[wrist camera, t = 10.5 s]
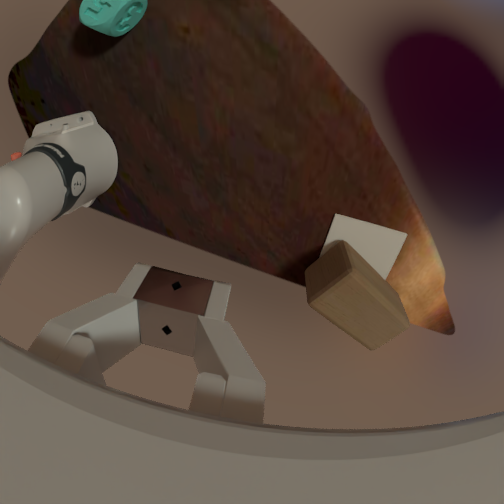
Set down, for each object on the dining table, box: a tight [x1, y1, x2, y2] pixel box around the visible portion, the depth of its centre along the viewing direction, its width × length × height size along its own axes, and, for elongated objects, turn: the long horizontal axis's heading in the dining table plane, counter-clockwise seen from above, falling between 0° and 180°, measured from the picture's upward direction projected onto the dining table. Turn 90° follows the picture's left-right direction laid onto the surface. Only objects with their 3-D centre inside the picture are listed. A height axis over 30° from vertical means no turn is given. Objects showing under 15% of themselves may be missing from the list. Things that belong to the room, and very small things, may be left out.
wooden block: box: [305, 240, 410, 350], centre depth 51 cm, size 10×10×20 cm
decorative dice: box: [79, 0, 147, 37], centre depth 29 cm, size 8×8×8 cm
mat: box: [319, 214, 407, 280], centre depth 52 cm, size 15×12×1 cm
